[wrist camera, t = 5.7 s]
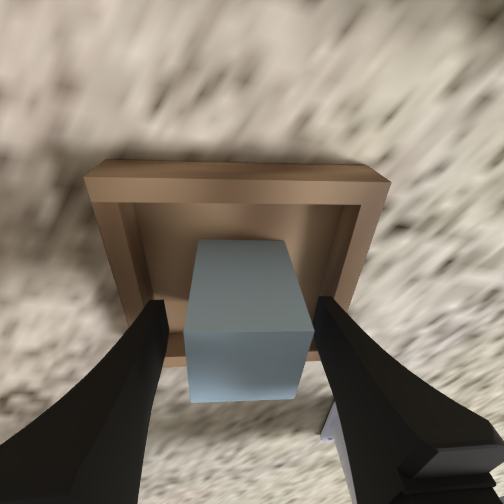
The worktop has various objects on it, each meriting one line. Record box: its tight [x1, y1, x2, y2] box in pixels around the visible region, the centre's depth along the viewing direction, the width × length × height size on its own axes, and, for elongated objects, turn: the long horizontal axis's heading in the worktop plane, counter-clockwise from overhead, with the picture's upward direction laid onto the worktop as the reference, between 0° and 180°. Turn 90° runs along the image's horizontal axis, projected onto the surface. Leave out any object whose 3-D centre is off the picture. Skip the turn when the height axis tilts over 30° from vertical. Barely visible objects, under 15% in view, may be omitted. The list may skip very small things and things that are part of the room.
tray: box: [83, 159, 391, 367], centre depth 15 cm, size 12×12×2 cm
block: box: [184, 239, 314, 403], centre depth 13 cm, size 4×4×6 cm
